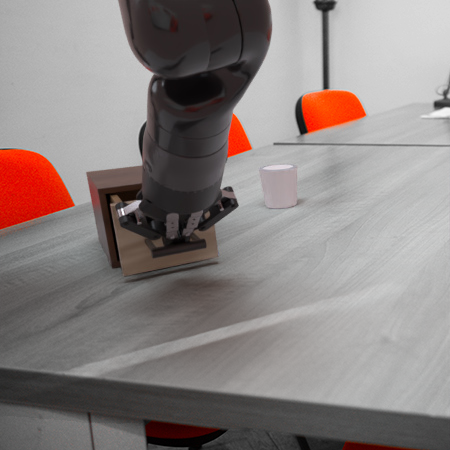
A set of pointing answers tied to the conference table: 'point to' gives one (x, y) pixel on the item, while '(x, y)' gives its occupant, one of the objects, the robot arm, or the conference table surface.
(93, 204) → the cabinet
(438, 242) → the conference table surface
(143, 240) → the drawer
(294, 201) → the white cup
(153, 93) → the robot arm
